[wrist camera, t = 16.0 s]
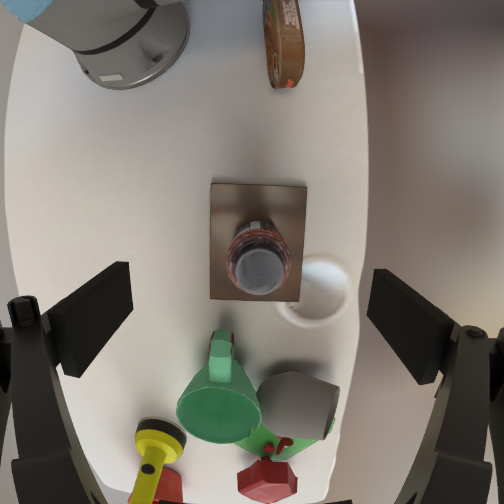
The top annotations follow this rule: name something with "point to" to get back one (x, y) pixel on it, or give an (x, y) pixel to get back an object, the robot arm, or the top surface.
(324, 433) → the cup
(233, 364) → the mug
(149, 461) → the flashlight
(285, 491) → the red green faceted piece
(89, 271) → the top surface
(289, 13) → the tin
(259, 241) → the supplement bottle
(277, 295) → the placemat
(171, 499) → the flower pot
